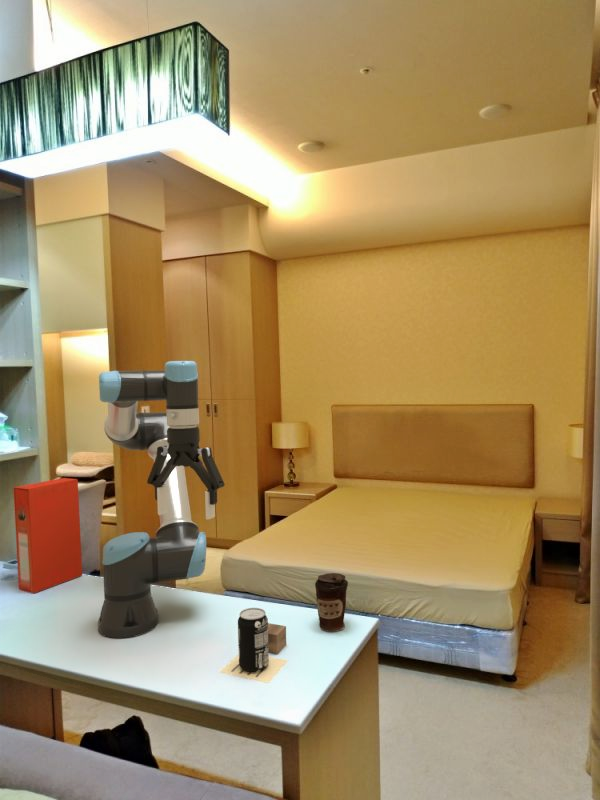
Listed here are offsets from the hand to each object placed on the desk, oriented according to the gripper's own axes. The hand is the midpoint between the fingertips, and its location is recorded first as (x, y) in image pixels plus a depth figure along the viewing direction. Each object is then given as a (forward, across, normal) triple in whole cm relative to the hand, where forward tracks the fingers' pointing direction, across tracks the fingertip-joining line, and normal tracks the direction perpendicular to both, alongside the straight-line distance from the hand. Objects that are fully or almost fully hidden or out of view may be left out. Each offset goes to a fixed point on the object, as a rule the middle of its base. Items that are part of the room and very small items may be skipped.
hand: (186, 515), depth 135 cm
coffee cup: (+32, +28, +22) cm, 48 cm away
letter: (+32, +19, -3) cm, 37 cm away
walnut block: (+32, +19, +6) cm, 37 cm away
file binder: (+32, -67, +20) cm, 77 cm away
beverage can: (+32, +19, -3) cm, 37 cm away
